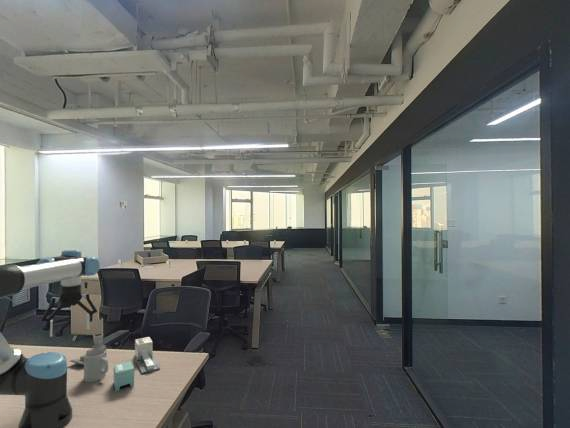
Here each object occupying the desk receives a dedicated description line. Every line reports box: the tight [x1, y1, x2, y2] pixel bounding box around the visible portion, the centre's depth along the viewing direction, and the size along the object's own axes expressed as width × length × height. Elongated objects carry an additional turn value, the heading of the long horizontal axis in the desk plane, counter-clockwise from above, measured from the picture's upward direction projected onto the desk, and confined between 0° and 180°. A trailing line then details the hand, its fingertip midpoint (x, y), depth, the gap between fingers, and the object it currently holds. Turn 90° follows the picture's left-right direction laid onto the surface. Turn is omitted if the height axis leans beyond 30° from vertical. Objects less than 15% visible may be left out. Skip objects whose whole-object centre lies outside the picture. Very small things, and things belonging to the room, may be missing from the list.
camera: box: [69, 332, 107, 366], centre depth 157 cm, size 9×12×15 cm
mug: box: [83, 349, 109, 383], centre depth 140 cm, size 12×8×11 cm
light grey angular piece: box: [133, 336, 161, 375], centre depth 155 cm, size 22×8×9 cm, turn 34°
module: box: [113, 361, 135, 392], centre depth 135 cm, size 8×7×8 cm
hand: (70, 332), depth 138 cm, fingers open, 13 cm apart
